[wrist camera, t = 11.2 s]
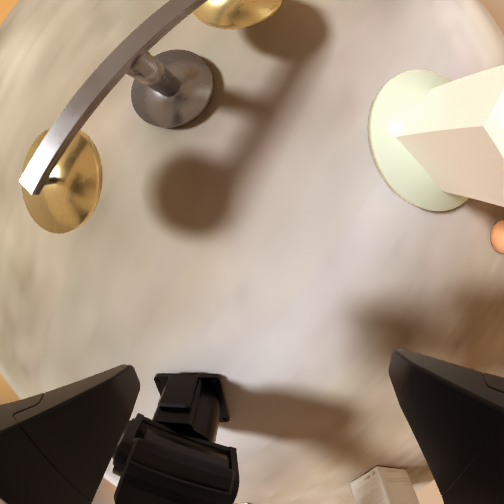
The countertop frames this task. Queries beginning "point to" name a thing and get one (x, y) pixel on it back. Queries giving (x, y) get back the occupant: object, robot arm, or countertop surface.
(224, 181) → the countertop surface
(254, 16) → the balance
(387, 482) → the skincare box
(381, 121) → the dish
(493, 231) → the ball
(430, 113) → the offset cream blocks
